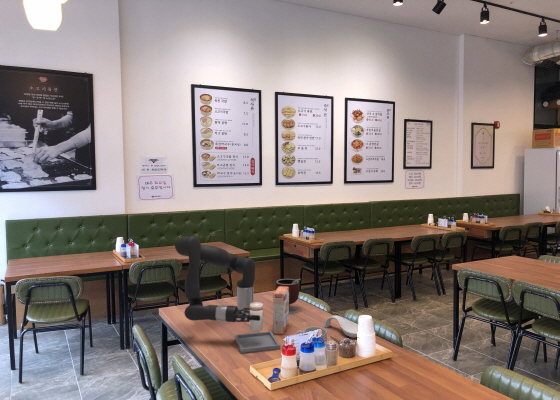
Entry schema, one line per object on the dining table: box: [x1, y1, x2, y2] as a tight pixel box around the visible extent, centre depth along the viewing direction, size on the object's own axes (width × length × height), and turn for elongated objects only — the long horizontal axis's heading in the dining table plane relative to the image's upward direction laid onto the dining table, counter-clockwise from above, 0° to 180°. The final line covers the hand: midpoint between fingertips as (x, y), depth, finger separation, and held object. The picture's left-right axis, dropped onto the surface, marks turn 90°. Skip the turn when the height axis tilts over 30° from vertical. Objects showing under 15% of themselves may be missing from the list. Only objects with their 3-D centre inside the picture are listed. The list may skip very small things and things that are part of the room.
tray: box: [234, 330, 281, 355], centre depth 208 cm, size 18×18×2 cm
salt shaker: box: [249, 301, 264, 332], centre depth 207 cm, size 6×6×12 cm
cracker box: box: [272, 286, 290, 335], centre depth 226 cm, size 14×6×21 cm, turn 168°
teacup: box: [296, 325, 328, 343], centre depth 205 cm, size 14×11×8 cm
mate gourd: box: [274, 278, 301, 315], centre depth 256 cm, size 16×14×20 cm
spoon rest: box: [323, 315, 359, 339], centre depth 223 cm, size 24×12×7 cm, turn 45°
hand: (261, 315), depth 207 cm, fingers closed on salt shaker, 6 cm apart
